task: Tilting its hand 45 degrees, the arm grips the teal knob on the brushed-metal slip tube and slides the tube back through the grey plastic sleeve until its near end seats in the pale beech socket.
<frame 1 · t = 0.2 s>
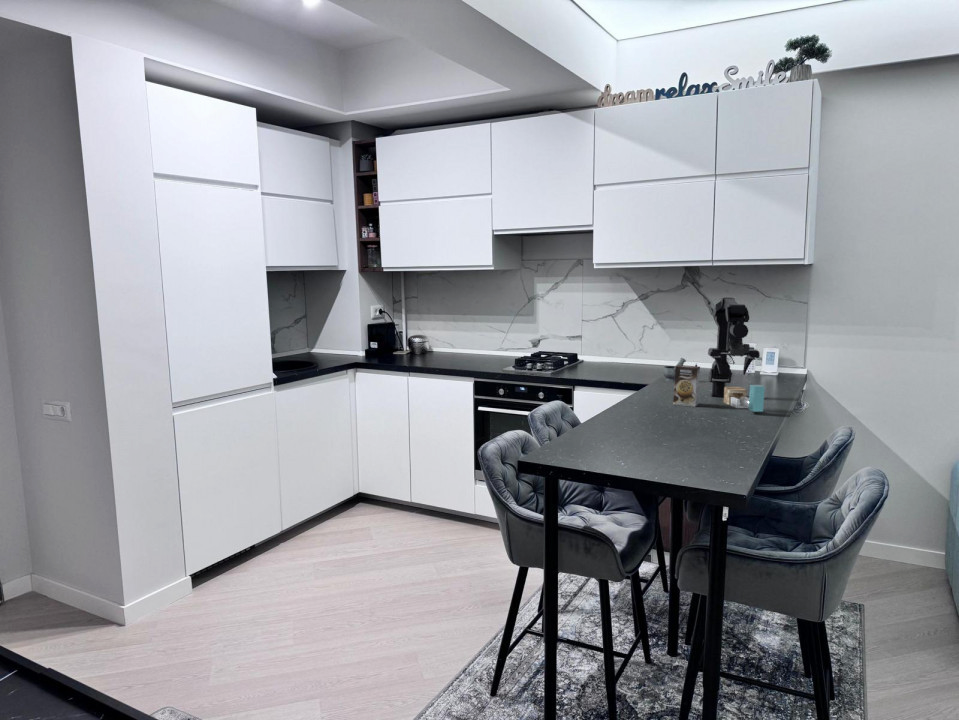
hand: (732, 374, 268), 14 cm above the table, tool pointing down, fingers open, 9 cm apart
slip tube: (750, 395, 264), point 6 cm above the table, slide at 7.0 cm
sleeve: (741, 406, 273), on the table
socket: (734, 403, 279), on the table
mortar and pestle: (673, 381, 335), on the table
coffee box: (685, 404, 276), on the table
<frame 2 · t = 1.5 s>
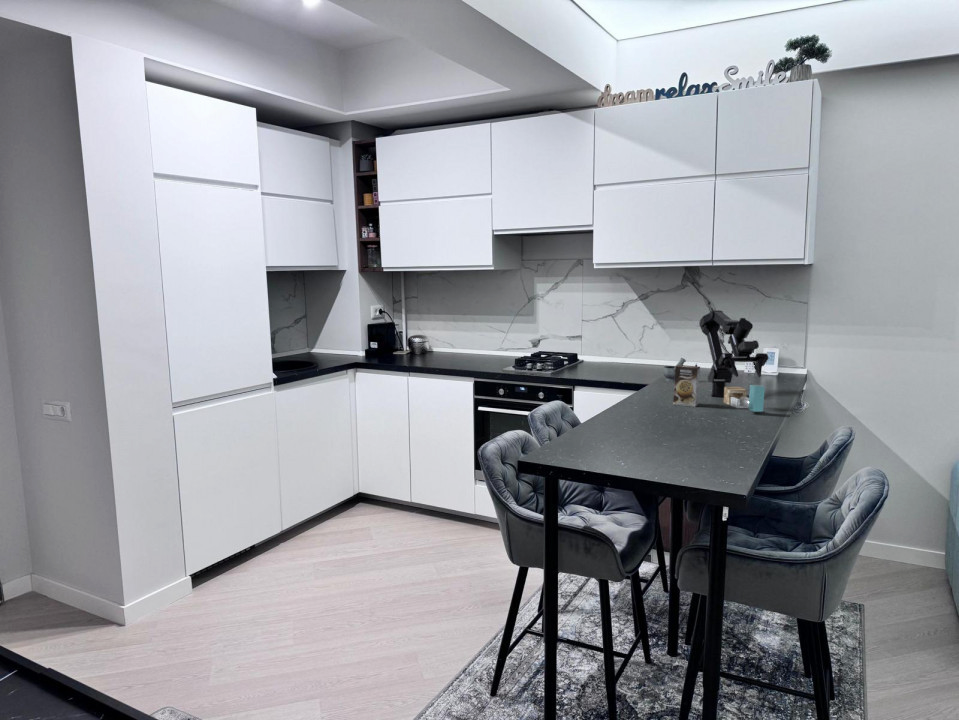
hand: (748, 376, 266), 13 cm above the table, tool tilted 45°, fingers open, 9 cm apart
nothing on the table moved.
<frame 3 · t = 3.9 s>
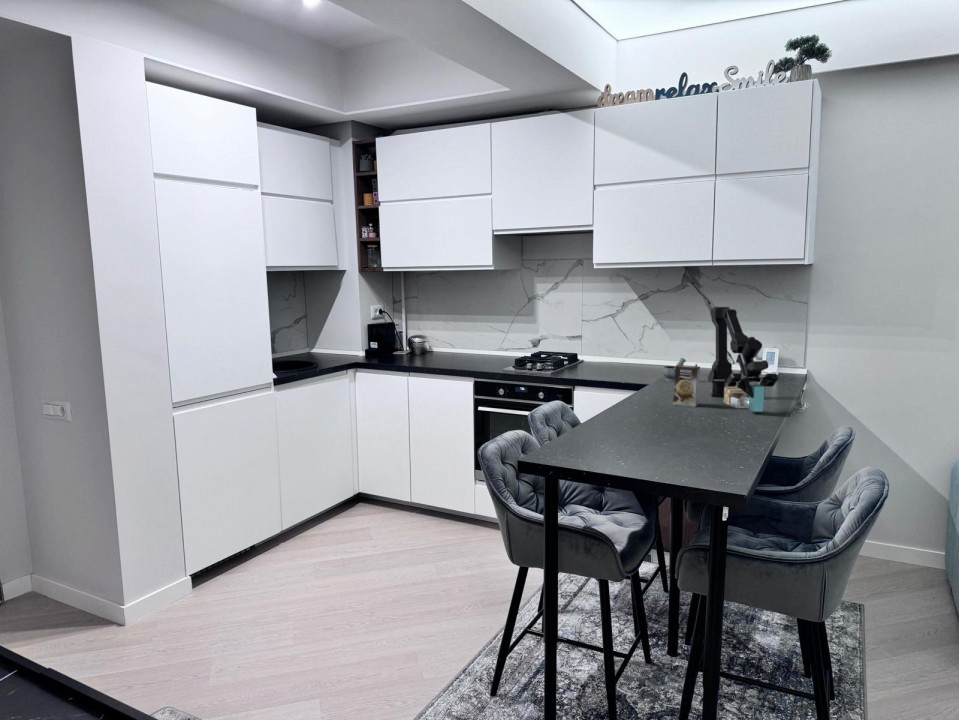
hand: (758, 397, 258), 7 cm above the table, tool tilted 45°, fingers closed on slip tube, 4 cm apart
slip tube: (750, 395, 264), point 6 cm above the table, slide at 7.0 cm, touching gripper
everything else where it was.
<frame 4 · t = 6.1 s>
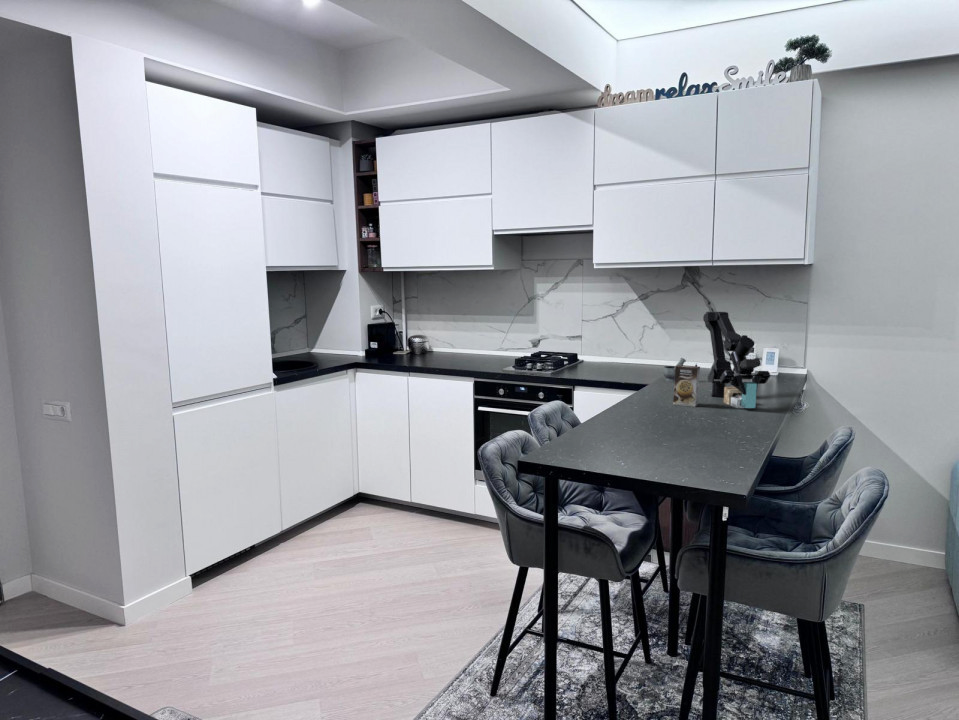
hand: (750, 394, 265), 7 cm above the table, tool tilted 45°, fingers closed on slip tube, 4 cm apart
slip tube: (743, 392, 271), point 6 cm above the table, slide at 0.4 cm, touching gripper
everything else where it was.
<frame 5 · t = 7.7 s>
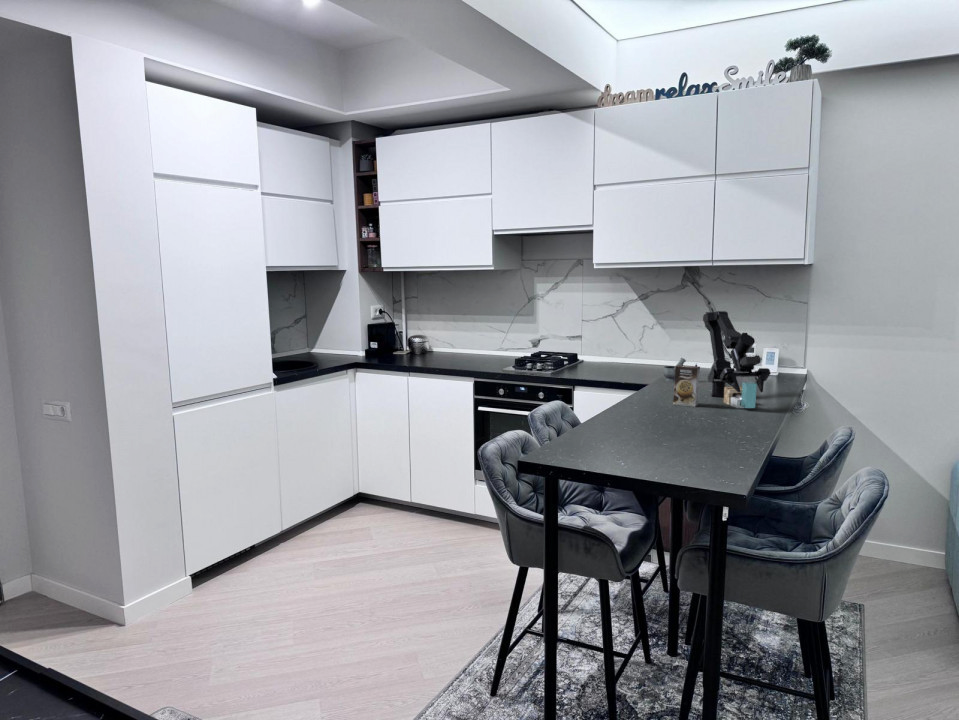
hand: (750, 391, 264), 8 cm above the table, tool tilted 45°, fingers open, 9 cm apart
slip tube: (743, 392, 271), point 6 cm above the table, slide at 0.2 cm
everything else where it was.
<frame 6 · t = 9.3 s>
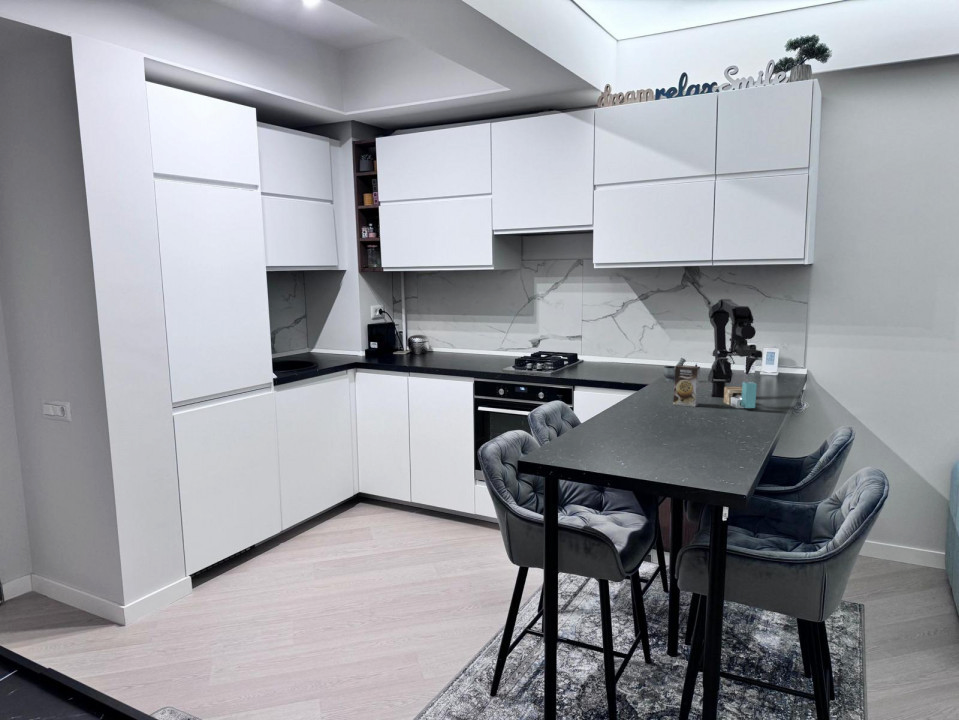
hand: (736, 374, 275), 13 cm above the table, tool pointing down, fingers open, 9 cm apart
nothing on the table moved.
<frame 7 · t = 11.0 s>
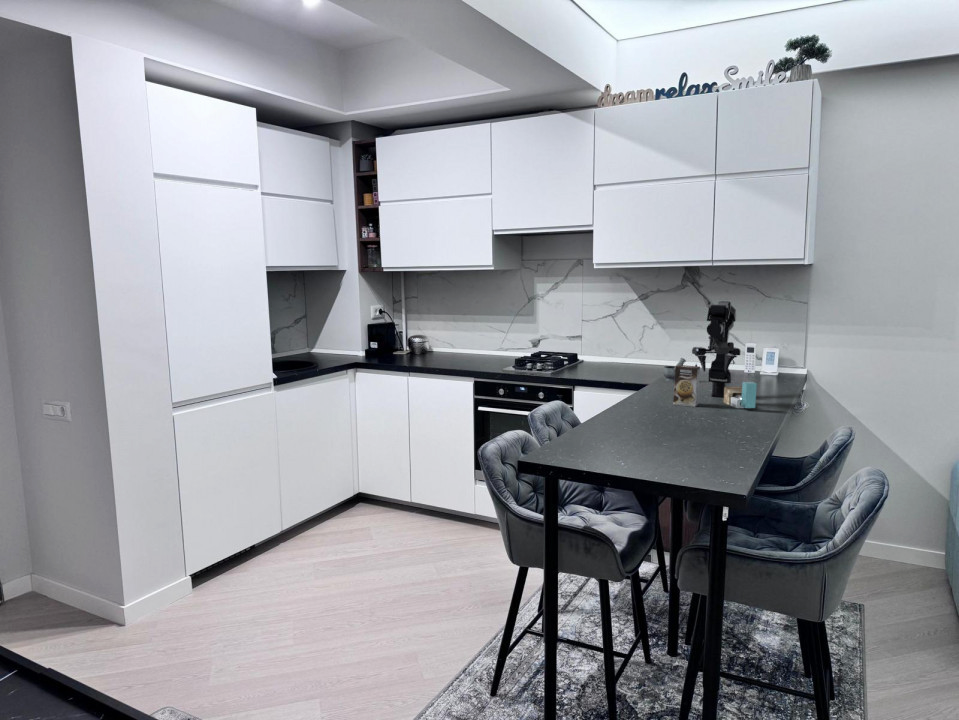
hand: (714, 371, 281), 13 cm above the table, tool pointing down, fingers open, 9 cm apart
nothing on the table moved.
at the end: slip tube slide at 0.2 cm; the gripper is holding nothing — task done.
